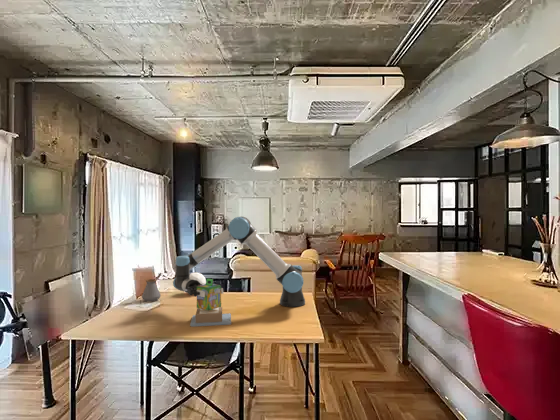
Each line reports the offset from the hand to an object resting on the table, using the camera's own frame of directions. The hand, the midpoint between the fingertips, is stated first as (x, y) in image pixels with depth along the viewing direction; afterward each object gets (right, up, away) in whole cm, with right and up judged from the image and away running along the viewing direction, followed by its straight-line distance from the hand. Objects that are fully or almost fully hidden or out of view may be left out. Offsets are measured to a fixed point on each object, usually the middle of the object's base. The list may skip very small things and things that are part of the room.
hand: (213, 292), depth 200 cm
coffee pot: (-47, -15, +55) cm, 74 cm away
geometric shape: (-24, -15, +68) cm, 74 cm away
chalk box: (-3, -9, +3) cm, 10 cm away
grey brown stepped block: (-2, -15, +3) cm, 16 cm away
